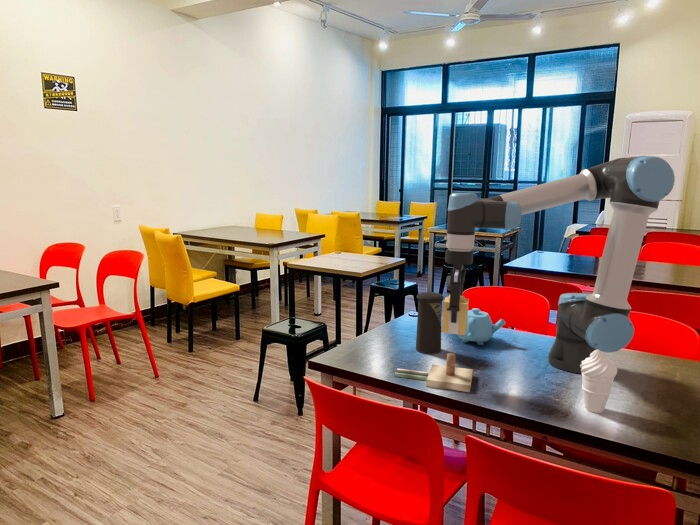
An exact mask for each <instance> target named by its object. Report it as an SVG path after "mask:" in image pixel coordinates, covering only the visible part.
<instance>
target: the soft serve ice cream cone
mask: <svg viewBox="0 0 700 525" xmlns="http://www.w3.org/2000/svg"><path fill="white" fill-rule="evenodd" d="M581 363H582V364H581V365H580V367H581V368H582V369H581V372H582V373H581V377H582V382H581V383H582V385H581V389H582V395H583V404H584V409H585V410H586V411H589V412H591V413H593V414H594V413H595V414H601V413H604V412H605V411H604V410H605V408H606V406H607V403H608V400H609V396H610V395H611V393H612V386H613V382H614V380H615V377H616V376H617V374H618V367H617V365H616V364H615V363H614V361H613V360H611V359H610V358H609V357H608V356H605V355H604V354H602V351H600V350H598V349H597V350H595V351H593V352H592V353H591V354H590V357H588V358H586V359H585V360H583V361H582V362H581Z"/></svg>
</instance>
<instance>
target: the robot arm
mask: <svg viewBox="0 0 700 525" xmlns="http://www.w3.org/2000/svg"><path fill="white" fill-rule="evenodd" d="M675 178H676V177H675V172H674V170H673V167H671V164H669V163H668V161H666V160H665V159H664V158H661V157H658V156H655V155H639V156H631V157H619V158H615V159H611V160H609V161H607V162H603V163H601V164H597V165H594V166H592V167H588V168H583V169H582V170H581V171H580V172H579V173H578V174H575V175H571V176H568V177H563V178H560V179H556V180H552V181H549V182H544V183H540V184H536V185H533V186H529V187H526V188H521V189H518V190H513V191H510V192H506V193H503V194H499V195H494V196H492V197H488V198H483V197H482V198H479V199H478V195H477V193H473V192H469V193H468V192H452V193H451V194H450V195H449V199H448V206H447V222H446V223H447V224H446V225H447V226H446V236H444V238H443V239H444V240H445V243H446V244H445V247H446V248H447V249H446V250H445V258H444V261H445V263H446V264H449V265H452V266H453V268H451V269H450V272H449V276H450V282H449V285H450V294H449V295H450V305H449V308H447V310H448V311H449V325H448V333H447V334H451V333H452V334H453V335H457V334H458V328H459V313H460V311H459V310H460V309H459V304H460V295H464V294H463V293H464V290H463V289H464V284H465V277H466V274H467V270H466V268H465V266H469V265H472V264H473V261H474V251H473V249H474V248H475V237H476V236H475V235H476V229H495V230H501V229H502V230H514V229H517V228H519V227H520V225H521V223H522V216H524V215H528V214H532V213H535V212H539V211H543V210H547V209H551V208H555V207H559V206H563V205H567V204H570V203H574V202H575V203H576V202H577V201H582V200H586V201H589V202H591V201H595V200H602V199H609V205H610V206H611V208H612V209H613V211H612V216H611V221H610V222H609V223H610V225H609V228H608V230H607V231H608V232H607V236H606V238H605V239H606V240H605V245H604V248H603V250H602V251H603V252H602V256H601V260H600V262H599V263H600V265H599V268H598V272H597V275H596V279H595V284H594V287H593V292H592V293H584V292H583V293H582V292H579V293H578V292H566V293H562V294H560V296H559V299H558V302H557V308H558V309H557V318H556V319H557V320H556V322H557V323H556V334H555V339H554V342H553V344H552V346H551V348H550V351H549V353H548V355H547V356H548V357H547V362H548V364H550V365H551V366H552V367H554V368H556V369H559V370H563V371H566V372H570V373H577V374H582V372H581V369H582V368H581V367H580V365H581V364H582V363H581V362H582V361H583V360H585V359H586V358H588V357H590V354H591V353H592V352H593V351H595V350H597V349H598V350H599V351H600V352H604V353H615V352H618V351H620V350H622V349H624V348H626V347H628V345H629V344H630V342H631V341H632V339H633V337H634V334H635V327H634V324H633V322H632V321H631V319H630V315H631V310H632V307H631V305H630V304H629V302H628V298H629V297H628V296H629V293H630V289H631V286H632V282H633V278H634V274H635V270H636V266H637V263H638V259H639V256H640V250H641V248H642V245H643V244H642V243H643V240H644V236H645V233H646V228H647V225H648V220H649V218H650V215H651V214H654V213H655V212H656V211H658V208H659V205H660V201H661V200H664V198H666V197H667V196H668V195H670V194H671V192H672V191H673V188H674V186H675Z"/></svg>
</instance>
